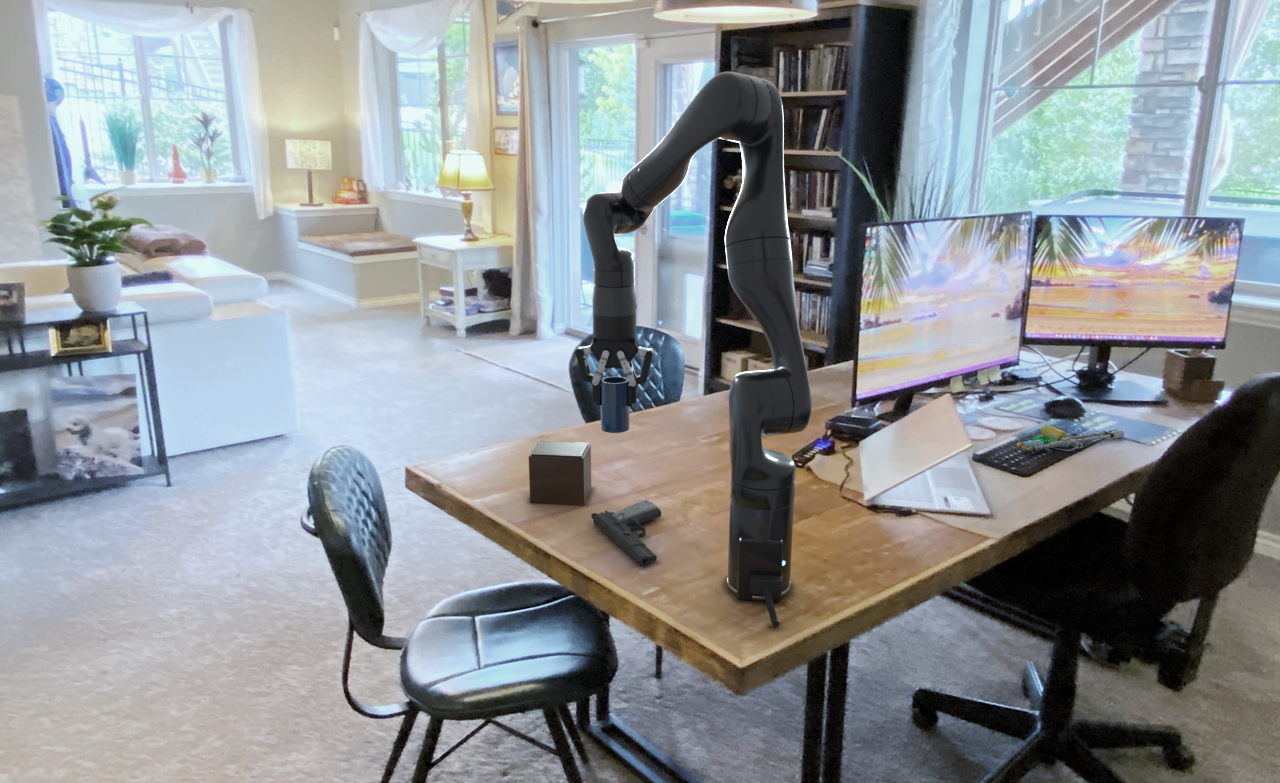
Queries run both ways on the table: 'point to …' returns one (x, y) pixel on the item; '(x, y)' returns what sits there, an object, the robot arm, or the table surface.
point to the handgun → (629, 528)
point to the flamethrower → (1064, 439)
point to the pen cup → (614, 404)
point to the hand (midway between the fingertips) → (615, 404)
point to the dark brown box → (560, 472)
